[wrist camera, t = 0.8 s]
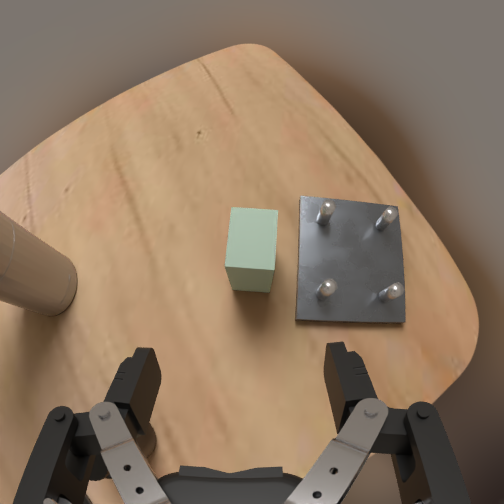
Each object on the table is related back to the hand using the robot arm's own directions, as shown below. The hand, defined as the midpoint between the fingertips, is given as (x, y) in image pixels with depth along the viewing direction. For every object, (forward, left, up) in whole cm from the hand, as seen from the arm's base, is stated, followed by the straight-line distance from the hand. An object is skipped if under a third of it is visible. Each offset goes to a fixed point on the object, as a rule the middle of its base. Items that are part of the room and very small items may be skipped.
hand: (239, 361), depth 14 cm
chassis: (+10, +15, -23) cm, 29 cm away
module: (-2, +11, -23) cm, 25 cm away
